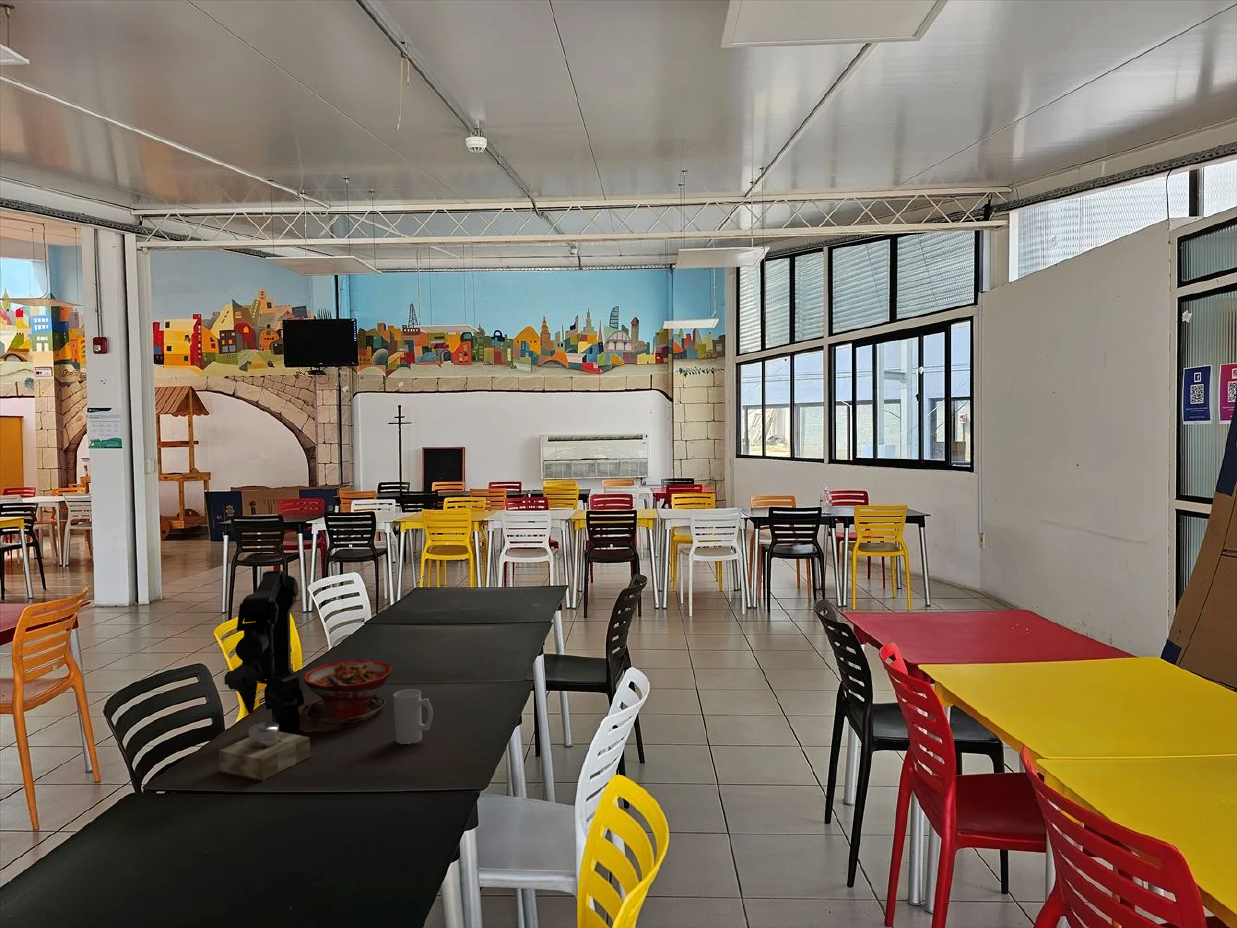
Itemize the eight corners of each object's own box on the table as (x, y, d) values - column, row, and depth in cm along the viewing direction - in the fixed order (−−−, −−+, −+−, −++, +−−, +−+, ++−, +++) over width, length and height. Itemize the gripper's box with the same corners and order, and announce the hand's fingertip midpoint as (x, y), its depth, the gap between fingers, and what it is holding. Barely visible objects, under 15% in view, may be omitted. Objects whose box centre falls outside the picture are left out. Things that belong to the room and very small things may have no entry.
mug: (390, 744, 205) (388, 697, 204) (402, 734, 211) (400, 688, 211) (427, 746, 203) (426, 698, 202) (439, 736, 209) (437, 690, 209)
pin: (244, 767, 193) (242, 730, 193) (266, 757, 199) (265, 720, 199) (264, 772, 190) (262, 733, 190) (286, 761, 196) (285, 724, 196)
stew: (363, 736, 211) (360, 675, 210) (277, 733, 215) (274, 673, 214) (408, 700, 238) (406, 645, 237) (331, 697, 242) (329, 644, 241)
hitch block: (219, 771, 191) (218, 750, 191) (268, 749, 204) (267, 729, 204) (263, 781, 185) (262, 759, 185) (310, 757, 198) (309, 737, 198)
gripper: (202, 655, 190) (206, 721, 191) (260, 663, 182) (264, 732, 183) (243, 643, 200) (246, 706, 201) (299, 650, 192) (302, 715, 193)
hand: (263, 715), depth 194 cm, fingers open, 8 cm apart
